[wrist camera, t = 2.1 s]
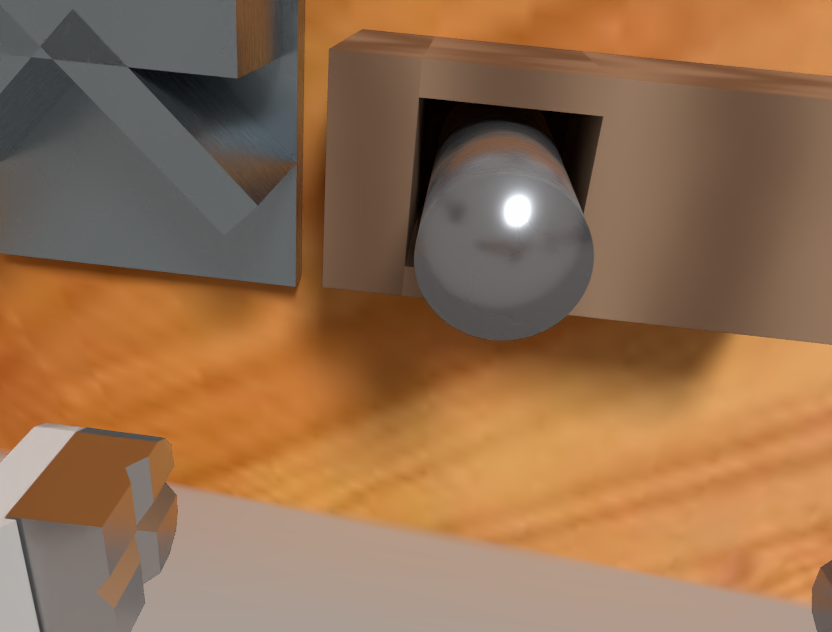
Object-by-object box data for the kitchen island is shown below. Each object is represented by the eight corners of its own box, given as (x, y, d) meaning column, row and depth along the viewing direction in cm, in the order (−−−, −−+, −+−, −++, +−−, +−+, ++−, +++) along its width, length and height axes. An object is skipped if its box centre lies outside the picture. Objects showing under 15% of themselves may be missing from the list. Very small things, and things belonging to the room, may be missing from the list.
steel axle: (559, 95, 25) (611, 185, 15) (540, 205, 27) (575, 349, 17) (445, 83, 25) (422, 164, 15) (434, 194, 27) (406, 330, 17)
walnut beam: (836, 77, 24) (940, 111, 18) (771, 269, 27) (843, 345, 22) (362, 29, 24) (328, 49, 19) (353, 223, 27) (322, 287, 22)
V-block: (306, -59, 23) (253, -64, 18) (301, 276, 29) (260, 349, 23) (-52, -93, 24) (-207, -109, 18) (11, 243, 29) (-95, 307, 24)
